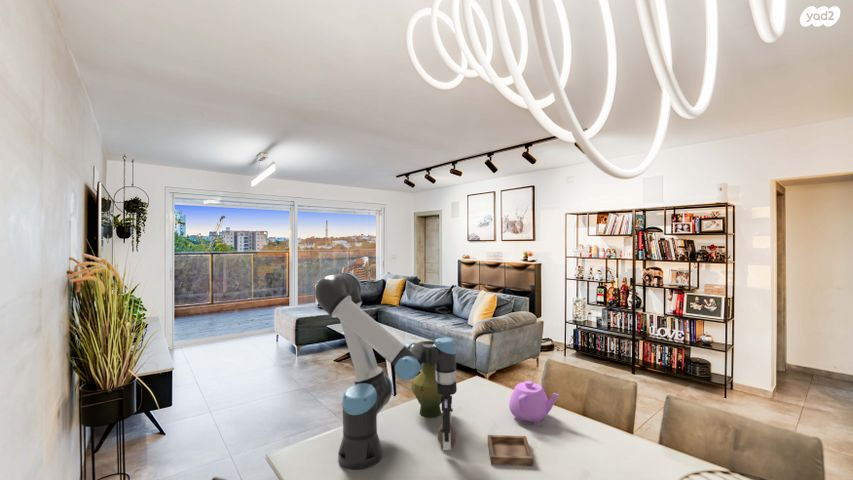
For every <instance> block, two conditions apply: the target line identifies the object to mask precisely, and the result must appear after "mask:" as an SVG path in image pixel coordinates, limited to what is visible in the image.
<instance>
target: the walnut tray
mask: <svg viewBox="0 0 853 480" xmlns="http://www.w3.org/2000/svg"><path fill="white" fill-rule="evenodd" d="M487 447H488V455H489V459H490V465H492V466H493V465H494V466H497V465H498V466H517V465H519V466H521V467H522V466H523V467H526V466H527V467H534V466H535V465H534V456H533V453H532V450H531V447H530V444H529V442H528V438H527V436H526V435H502V434H501V435H500V434H499V435H498V434H487Z"/></svg>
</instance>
